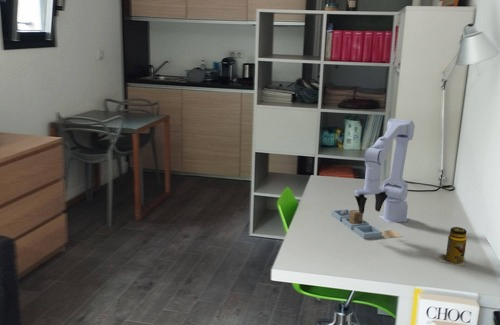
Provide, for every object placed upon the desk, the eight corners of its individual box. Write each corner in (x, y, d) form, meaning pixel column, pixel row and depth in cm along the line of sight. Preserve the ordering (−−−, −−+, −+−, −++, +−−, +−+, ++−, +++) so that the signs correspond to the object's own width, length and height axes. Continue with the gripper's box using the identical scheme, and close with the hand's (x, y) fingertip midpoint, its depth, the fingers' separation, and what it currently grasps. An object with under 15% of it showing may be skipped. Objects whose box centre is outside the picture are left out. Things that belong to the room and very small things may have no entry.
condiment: (464, 266, 179) (469, 234, 176) (438, 261, 182) (443, 230, 179) (464, 258, 185) (468, 227, 183) (439, 254, 188) (443, 223, 186)
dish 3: (370, 230, 209) (371, 225, 208) (381, 238, 202) (382, 232, 201) (353, 232, 207) (353, 226, 206) (363, 239, 199) (364, 233, 199)
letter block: (357, 223, 216) (358, 209, 214) (361, 226, 212) (363, 212, 211) (348, 224, 214) (349, 210, 213) (353, 227, 211) (354, 213, 209)
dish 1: (347, 214, 227) (348, 209, 227) (356, 220, 220) (356, 215, 219) (331, 215, 225) (331, 210, 224) (339, 222, 218) (340, 216, 217)
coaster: (392, 231, 209) (392, 229, 209) (402, 237, 203) (402, 236, 203) (377, 232, 207) (377, 231, 207) (386, 239, 201) (387, 237, 201)
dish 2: (358, 222, 218) (359, 216, 218) (368, 229, 211) (369, 223, 210) (341, 223, 216) (342, 218, 215) (351, 230, 208) (351, 224, 208)
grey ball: (345, 215, 224) (345, 209, 224) (348, 218, 222) (349, 211, 221) (339, 216, 223) (339, 209, 223) (342, 218, 221) (342, 212, 220)
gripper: (381, 174, 205) (378, 206, 208) (350, 177, 199) (348, 210, 203) (392, 179, 198) (389, 212, 202) (361, 182, 193) (358, 216, 196)
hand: (369, 211), depth 202 cm, fingers open, 7 cm apart
